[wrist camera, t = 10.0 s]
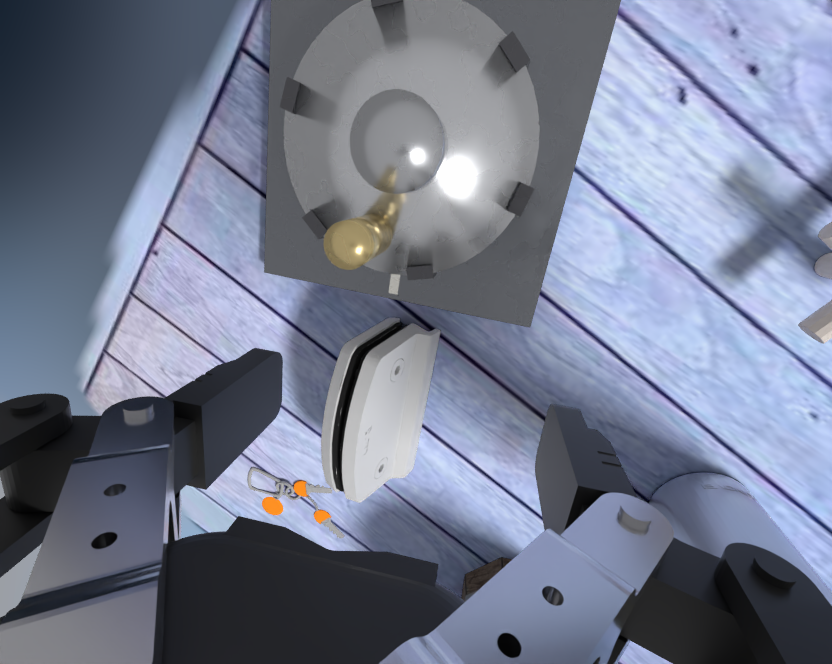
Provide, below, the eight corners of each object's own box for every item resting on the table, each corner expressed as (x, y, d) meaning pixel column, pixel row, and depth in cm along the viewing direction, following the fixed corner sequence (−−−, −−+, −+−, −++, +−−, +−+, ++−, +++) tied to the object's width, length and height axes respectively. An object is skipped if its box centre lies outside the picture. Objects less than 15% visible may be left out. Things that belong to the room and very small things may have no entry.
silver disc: (339, -39, 28) (274, -131, 20) (588, 72, 28) (628, 25, 20) (273, 212, 35) (204, 221, 27) (472, 304, 35) (466, 342, 26)
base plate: (528, 321, 36) (530, 327, 35) (272, 269, 39) (263, 272, 37) (620, -13, 28) (627, -24, 26) (283, -52, 30) (271, -64, 29)
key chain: (245, 504, 50) (241, 509, 49) (252, 457, 48) (248, 461, 47) (343, 539, 49) (341, 545, 49) (356, 493, 47) (353, 499, 46)
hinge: (412, 471, 44) (354, 533, 35) (376, 452, 46) (312, 506, 37) (441, 326, 38) (379, 358, 29) (398, 311, 40) (328, 337, 31)
